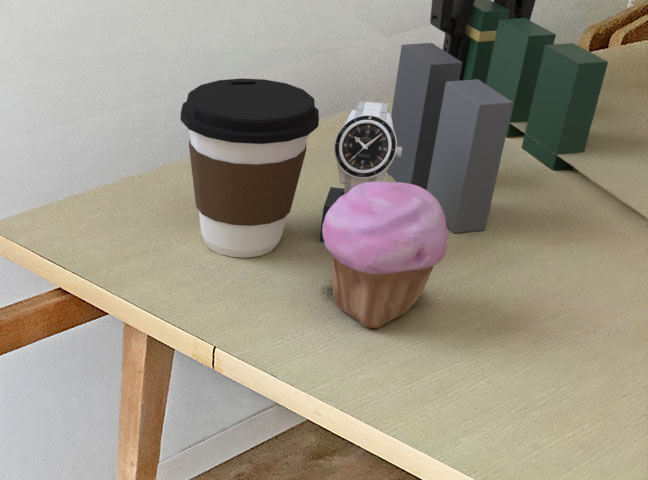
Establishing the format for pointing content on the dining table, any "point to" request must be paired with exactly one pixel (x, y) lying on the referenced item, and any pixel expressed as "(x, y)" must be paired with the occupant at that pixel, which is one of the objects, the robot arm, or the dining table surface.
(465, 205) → the grey books
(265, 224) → the coffee cup
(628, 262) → the dining table surface
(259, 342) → the dining table surface
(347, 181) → the watch
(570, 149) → the green books
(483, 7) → the green tan-banded upright block
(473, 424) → the dining table surface
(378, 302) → the cupcake
